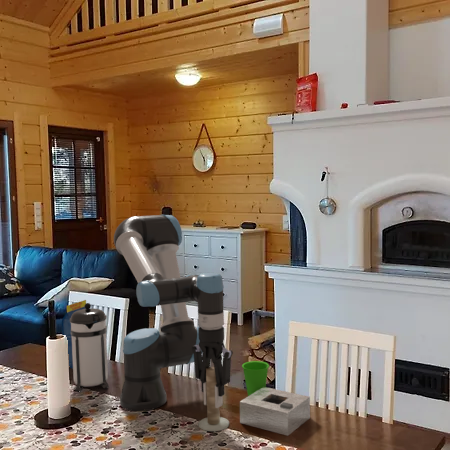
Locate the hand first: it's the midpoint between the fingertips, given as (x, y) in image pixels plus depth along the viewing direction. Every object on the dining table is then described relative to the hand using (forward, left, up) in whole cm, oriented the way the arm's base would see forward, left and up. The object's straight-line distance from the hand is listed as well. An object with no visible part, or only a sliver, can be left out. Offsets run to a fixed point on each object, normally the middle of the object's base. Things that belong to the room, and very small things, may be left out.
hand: (213, 404), depth 163 cm
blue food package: (-80, +18, -6) cm, 82 cm away
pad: (0, 0, -6) cm, 6 cm away
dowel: (0, 0, -5) cm, 5 cm away
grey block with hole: (+14, +12, -6) cm, 19 cm away
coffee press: (-58, +4, -6) cm, 58 cm away
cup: (0, +24, -6) cm, 25 cm away
